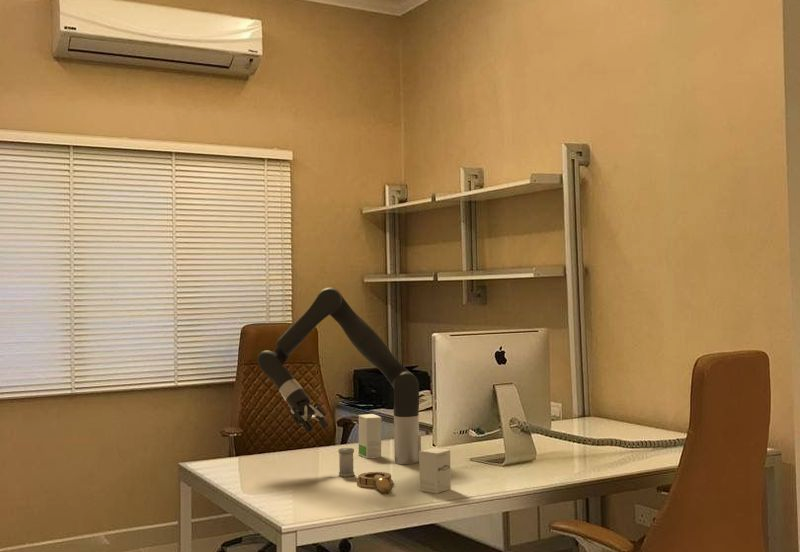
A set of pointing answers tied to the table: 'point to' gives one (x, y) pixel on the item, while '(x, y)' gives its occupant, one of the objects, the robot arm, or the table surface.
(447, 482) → the supplement box
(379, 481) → the bronze ring
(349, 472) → the grey flanged cylinder
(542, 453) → the table surface
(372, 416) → the skincare box
